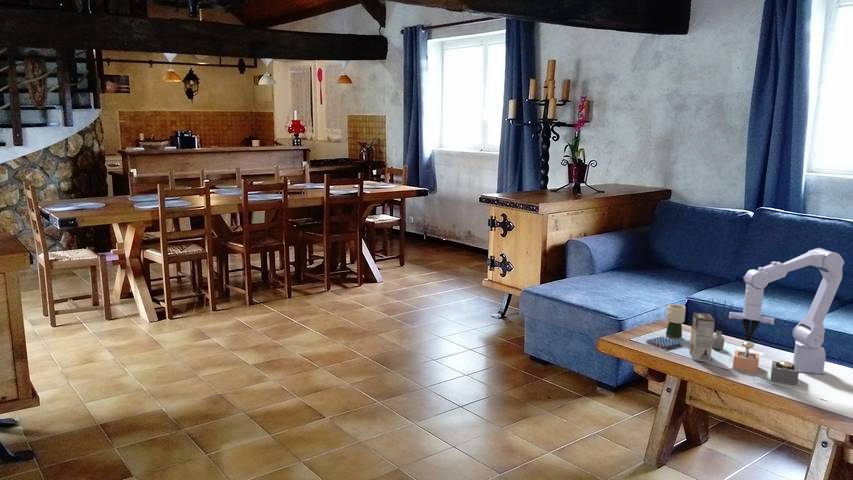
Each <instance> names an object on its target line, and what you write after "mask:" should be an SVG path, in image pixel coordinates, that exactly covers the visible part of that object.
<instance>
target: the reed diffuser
mask: <svg viewBox="0 0 853 480" xmlns="http://www.w3.org/2000/svg"><path fill="white" fill-rule="evenodd" d="M711 301H712V307H713V314H714V320H715V325H716V329H715V334H713V341H712V348H714V349H717V350H718V349H720V350H723V349H724V346H725V345H724V344H725V337H724V336H722V330H723V327H724V325H725V323H726V320H727V319H728V317H729V312H731V310H732V307H733V303H731V305H730V308H729V310H728V312H727V315H726V317H725V319H724V322H723V317H724V311H725V308H726V301H727V300H724V304H723V308H722V309H723V310H722V314H721V320H720V325H719V323H718V315H717V314H718V313H717V305H716V302H714V299H713V298H711ZM722 322H723V323H722Z"/></svg>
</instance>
